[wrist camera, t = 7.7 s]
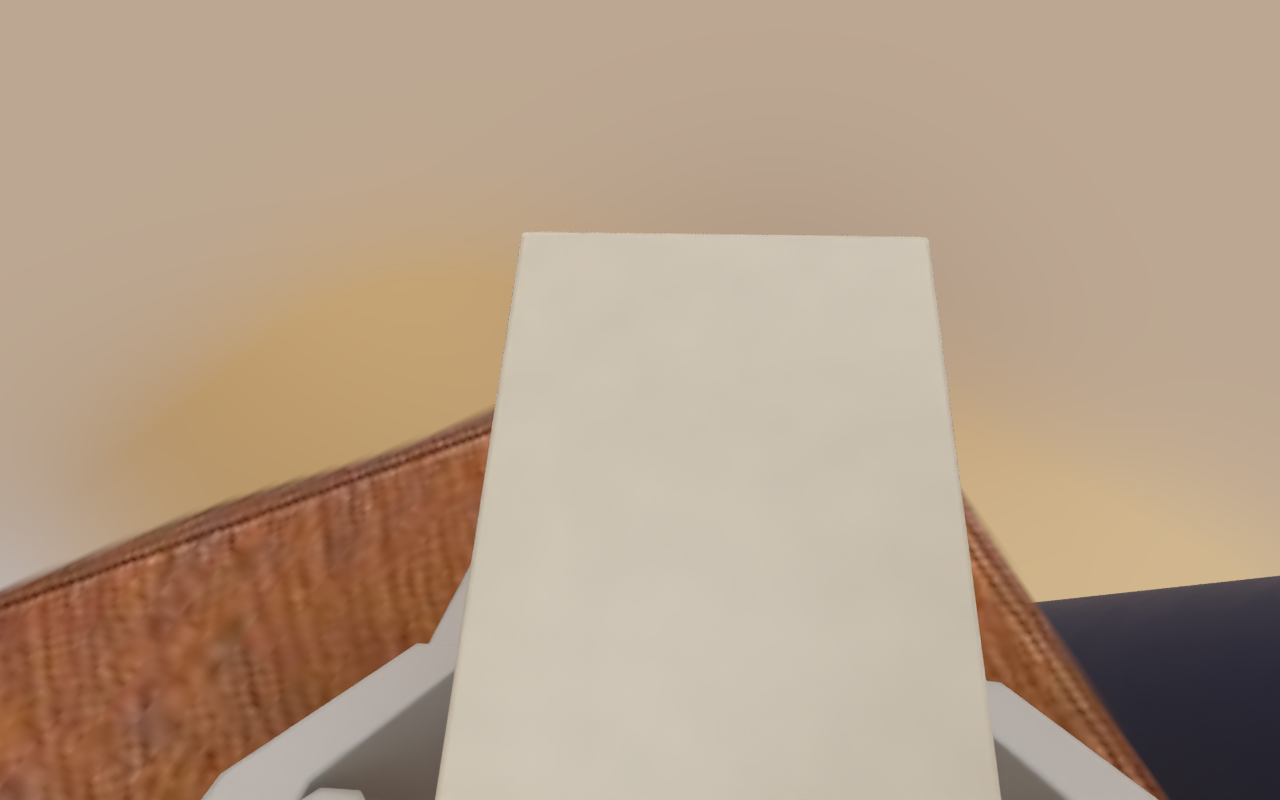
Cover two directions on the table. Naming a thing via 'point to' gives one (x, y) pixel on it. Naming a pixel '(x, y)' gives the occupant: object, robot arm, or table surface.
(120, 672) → the table surface
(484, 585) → the cream rectangular block
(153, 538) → the table surface
